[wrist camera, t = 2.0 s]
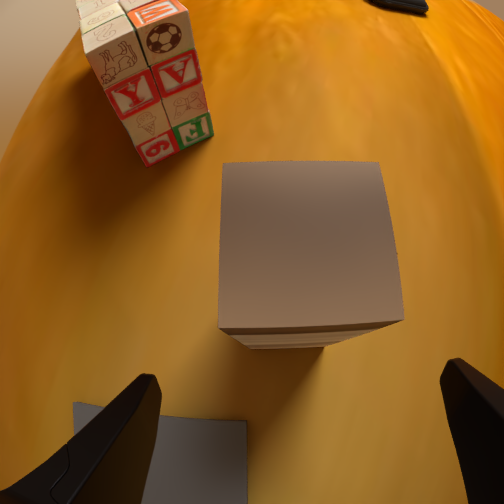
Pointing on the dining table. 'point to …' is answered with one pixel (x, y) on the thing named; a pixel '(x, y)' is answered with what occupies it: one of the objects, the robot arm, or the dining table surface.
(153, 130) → the stack of blocks
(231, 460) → the dark gray tapered panel
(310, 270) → the tall pale block
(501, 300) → the dining table surface
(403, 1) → the carrying case or bag
